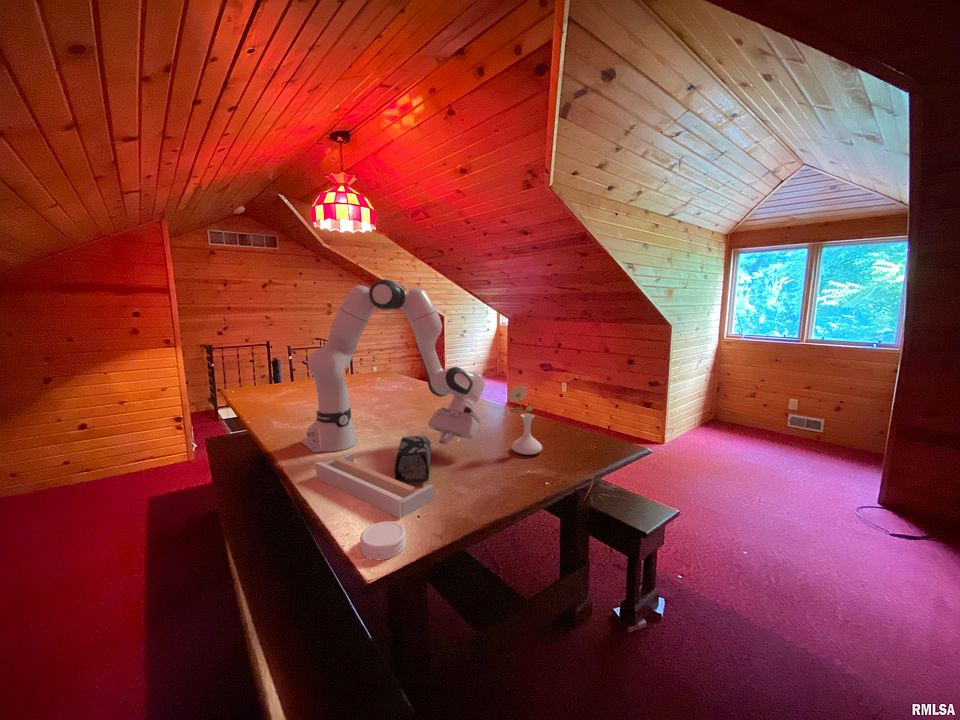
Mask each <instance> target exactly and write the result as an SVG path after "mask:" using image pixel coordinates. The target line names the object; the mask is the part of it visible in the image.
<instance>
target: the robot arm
mask: <svg viewBox="0 0 960 720" xmlns="http://www.w3.org/2000/svg"><path fill="white" fill-rule="evenodd" d="M377 309H378V310H383V311H390V312H391V311H396V310H401V311H402V312H403V313H404V314H405V316H406V318H407V321H408V323H409V325H410V327H411V329H412V332H413V334H414V338H415V342H416V346H417V350H418V353H419V356H420V359H421V361H422V364H423V366H424V370H425V372H426V376H427V385H428V386H427V387H428V389H429V391H430V392H431V393H432V394H433V395H434V396H436V397H438V398H439V397H440V398H441V397H443V398H444V397H445V396H448V395H451V396H453V398H452V401H451V402H450V404H449V406H448V407H447V408H445V407H440V408H439V409H437V410H436V411H435V412H434V413H433V415H432V416H431V417H430V419H429V421H428V423H427V426H428V427H429V428H430V429H431V430H434V431H437V432H440V438H439V440H438V443H440V444H441V445H445V446H447V445H448V444H449V442H451V441H452V440H453V439H454V438H455V437H459V438H463V439H466V440H467V439H468V440H472V439H473V438H474V437H475V436H476V433H477V431H478V428H479V424H480V422H481V420H482V417H480V415H479V414H478V413H477V412H476V410H474V409H475V407H476V404H477V403H478V402H479V400H480V398H481V396H482V394H483V392H484V389H485V383H486V382H485V379H484V377H482V375H480V374H479V373H478V372H475V371H468V370H467V371H466V370H464V369H463V368H460V367H458V366H453V367H448V368H445V369H443V367H442V365H441V362H440V359H439V356H438V354H437V350H436V343H437V340H438V338H439V336H440V335H441V333H442V329H443V324H442V320H441V316H440V315H439V313H438V310H437V309H436V306H435V304H434V302H433V301H432V300H431V298H430V296H429V295H428V293H427V292H426V291H425V290H424V289H423V288H419V287H415V288H411V289H408V290H406V288H405V287H404V286H403V285H402V284H401V283H399V282H397V281H395V280H393V279H391V280H390V279H387V278H386V279H379V280H376V281H375V282H374V283H372V285H371V286H370V287H367V286H365V285H359V284H358V285H355V286H353V287H352V288H351V290H350V291H349V292H348V293H347V295H346V296H345V298H344V299H343V301H342V303H341V305H340V306H339V308H338V310H337V312H336V314H335V316H334V319H333V321H332V323H331V325H330V329H329V335H328V338H327V340H326V343H325V344H324V346H321V347H320V348H317V349H315V350H314V351H313V352H312V353H311V354H310V356H309V358H308V360H307V367H308V370H309V372H310V373H311V374H312V377H313V379H314V384H315V386H316V392H317V404H318V410H316V411H315V412H316V413H315V415H316V419H315V420H314V422H313V423H312V424H311V425H309V426H308V428H307V431H306V437H305V438H302V440H301V444H302V445H304V446H305V447H306V446H307V447H306V448H308V449H309V451H311V450H312V451H311V452H312V453H321V452H337V451H342V450H346V449H349V448H352V447H353V446H355V444H356V441H357V440H359V438H358V435H356V432H355V424H354V420H353V419H352V411H351V407H350V395H349V393H350V392H349V387H348V385H347V382H346V378H345V375H344V370H345V369H347V368H348V367H349V365H350V363H351V362H352V359H353V357H354V354H355V352H356V349H357V346H358V343H359V340H360V339H361V336H362V335H363V332H364V330H365V329H366V326H367V324H368V322H369V320H370V318H371V316H372V315H373V313H374V311H376V310H377ZM447 435H448V436H447Z"/></svg>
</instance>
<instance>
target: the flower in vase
mask: <svg viewBox="0 0 960 720" xmlns="http://www.w3.org/2000/svg"><path fill="white" fill-rule="evenodd" d="M527 390H528V389H527V387H524V386H523V385H518V386H517V385H516V386H515V387H513V388H512V389H511V390H509V392H508V394H507V399H508V402H511V403H517V402H519V404H520V407H516V406H515V407H514V408H512V409H511V410H510V413H514V414H515V413H519V412H520V411H522V414H520V418H521V419H522V421H523V434H522V435H521V436H520V437H519V438H517V439H516V440H514V441H513V442H512V444H511V449H512V450H513V451H514V452H515V453H517V454H521V455H530V456H531V455H535V454H538V453H541V451H542V450H543V445H542V444H541V443H540V441H538V440H537V439H536V438H535V437H533V436H532V434H531V426H532V425H531V424H532V421H533V419H534V417H535V415H534V414H532V413H530V412H532V410H533V409H534V404H532V405H530V406H528V407H526V408H525V410H524V409H523V407H522V402H521V401H522V400H524V399H525V398H526V396H527V395H528V391H527Z"/></svg>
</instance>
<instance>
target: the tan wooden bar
mask: <svg viewBox="0 0 960 720" xmlns="http://www.w3.org/2000/svg"><path fill="white" fill-rule="evenodd" d="M341 457H342V456H339V457H336V458H334V459H333V460H334V464H335V468H336V469H339V470H341V471H343V472H345V473H348V474H350V475H352V476H354V477H357V478H359V479H361V480H364V481H366V482H368V483H370V484H373V485H375V486H377V487H380V488H382V489H384V490H386V491H389V492H391V493H393V494H396V495H398V496H400V497H402V498H405V497H407V496H409V495H411V494H412V493H414V492H416V487H415V486H412V485H411V484H407V483H406V482H400V481H398V480H395V478H392V477H390V476H387V475H385V474H383V473H380V472H377V471H375V470H372V469H370V468H368V467H365V466H362V465H360V464H358V463H356V462H354V461H353V462H351V461H348V460H346V459H343V458H341Z"/></svg>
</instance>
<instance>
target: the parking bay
mask: <svg viewBox="0 0 960 720" xmlns="http://www.w3.org/2000/svg"><path fill="white" fill-rule="evenodd" d="M340 457H341V458H343V459H346V460H348V461H351V462H353V463H354V454H353V453H348V454H346V455H343V456H340ZM314 465H315V476H316V477H317V478H316V479H318V478H319V479H318V480H320V479H321V480H320V481H322V480H323V481H322V482H324V481H325V482H324V483H326V482H327V483H326V484H328V483H329V484H328V485H330V484H331V485H330V486H332V485H333V487H334V486H335V488H336V487H337V489H338V488H339V489H338V490H340V489H341V491H342V490H343V491H342V492H344V491H345V492H344V493H346V492H347V493H346V494H348V493H349V494H348V495H351V496H352V495H353V496H352V497H354V496H355V498H357V499H359V500H361V501H362V502H365V503H367V504H368V505H371V506H373V507H375V508H377V509H379V510H381V511H383V512H386V513H387V514H389V515H391V516H393V517H395V518H397V519H400V520H401V519H403V518H404V517H406V516H407V515H410V514H411V513H413V512H415V511H416V510H418V509H420V508H422V507H423V506H425V505H427V504H428V503H430V502H432V501H433V500H435V485H433V484H428V485H426V486H424V487H422V488H420V489H418V490H417V491H416V490H415V492H414V493H412V494H411V495H409V496H407V497H405V498H402V497H400V496H398V495H396V494H393V493H391V492H389V491H386V490H384V489H382V488H380V487H377V486H375V485H373V484H370V483H368V482H366V481H364V480H361V479H359V478H357V477H354V476H352V475H350V474H348V473H345V472H343V471H341V470H339V469H336V468H335V464H334V459H331V460H329V461H325V462H322V461H317V462H315V464H314Z"/></svg>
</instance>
